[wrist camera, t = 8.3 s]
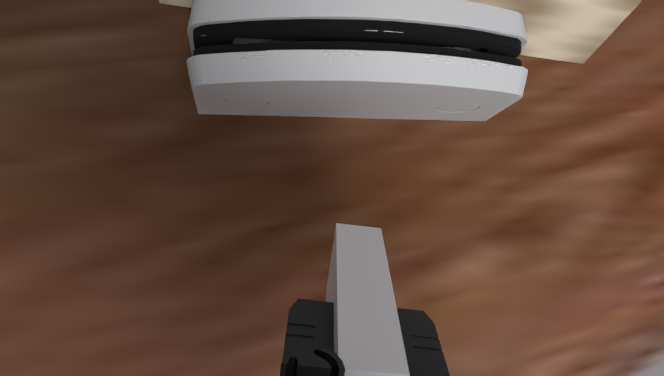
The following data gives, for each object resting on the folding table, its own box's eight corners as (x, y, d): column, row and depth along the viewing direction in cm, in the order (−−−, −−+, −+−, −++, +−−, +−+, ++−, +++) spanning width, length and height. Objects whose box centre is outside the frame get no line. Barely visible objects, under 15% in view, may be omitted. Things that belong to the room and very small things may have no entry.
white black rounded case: (478, 49, 30) (572, -28, 20) (478, 125, 30) (573, 86, 20) (199, 38, 29) (153, -52, 19) (198, 119, 28) (150, 72, 18)
